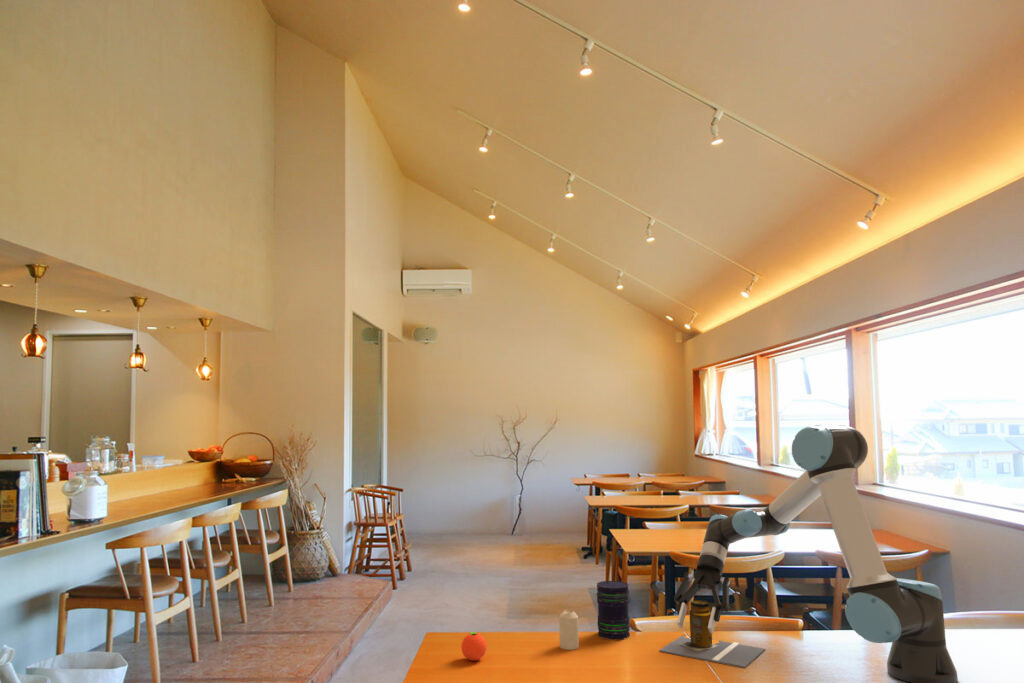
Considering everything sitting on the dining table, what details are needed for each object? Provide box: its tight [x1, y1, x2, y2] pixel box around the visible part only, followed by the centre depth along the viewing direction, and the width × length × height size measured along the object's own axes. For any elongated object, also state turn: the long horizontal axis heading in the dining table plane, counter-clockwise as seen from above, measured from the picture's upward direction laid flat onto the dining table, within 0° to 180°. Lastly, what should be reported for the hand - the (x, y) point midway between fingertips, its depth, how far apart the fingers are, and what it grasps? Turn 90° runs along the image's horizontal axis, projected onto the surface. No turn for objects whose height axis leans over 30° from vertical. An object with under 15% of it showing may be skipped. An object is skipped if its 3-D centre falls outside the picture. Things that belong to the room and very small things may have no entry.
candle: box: [558, 609, 580, 651], centre depth 195 cm, size 6×6×10 cm
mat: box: [658, 635, 766, 669], centre depth 190 cm, size 24×18×1 cm
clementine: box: [460, 631, 488, 661], centre depth 185 cm, size 8×7×7 cm
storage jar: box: [596, 580, 631, 641], centre depth 207 cm, size 10×10×15 cm
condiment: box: [680, 599, 718, 651], centre depth 194 cm, size 7×8×12 cm
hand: (694, 627), depth 191 cm, fingers open, 8 cm apart
